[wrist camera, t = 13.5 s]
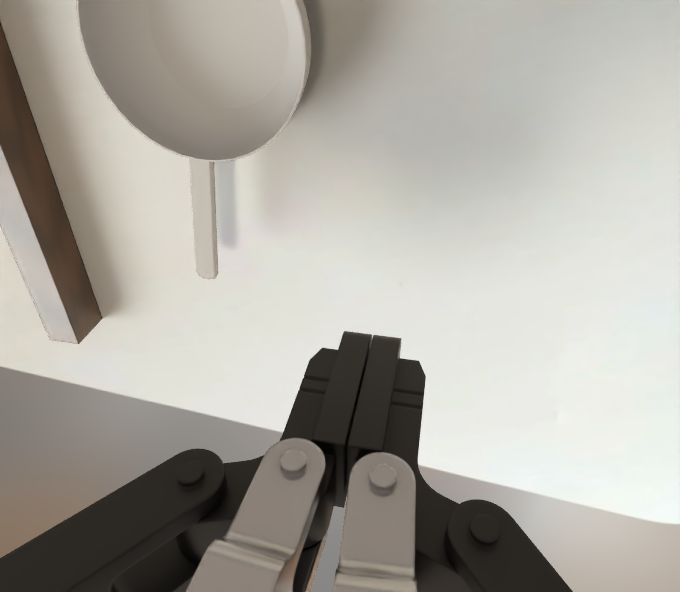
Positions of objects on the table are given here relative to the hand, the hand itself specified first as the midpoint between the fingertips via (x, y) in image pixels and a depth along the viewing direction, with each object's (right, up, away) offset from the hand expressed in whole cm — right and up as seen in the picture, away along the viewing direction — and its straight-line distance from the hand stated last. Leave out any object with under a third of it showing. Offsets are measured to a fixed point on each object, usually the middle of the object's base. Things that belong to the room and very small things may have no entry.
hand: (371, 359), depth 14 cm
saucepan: (-7, +12, +15) cm, 20 cm away
